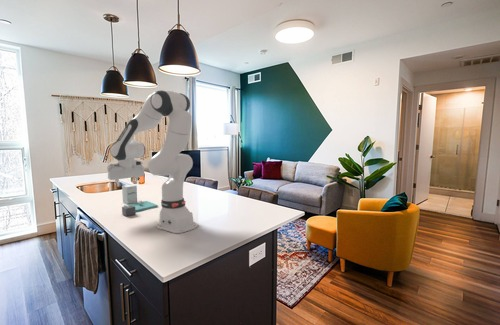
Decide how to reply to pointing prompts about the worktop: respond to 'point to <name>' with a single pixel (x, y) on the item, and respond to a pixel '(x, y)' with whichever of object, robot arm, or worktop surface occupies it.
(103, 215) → the worktop surface
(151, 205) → the board
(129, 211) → the knob
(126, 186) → the supplement box
